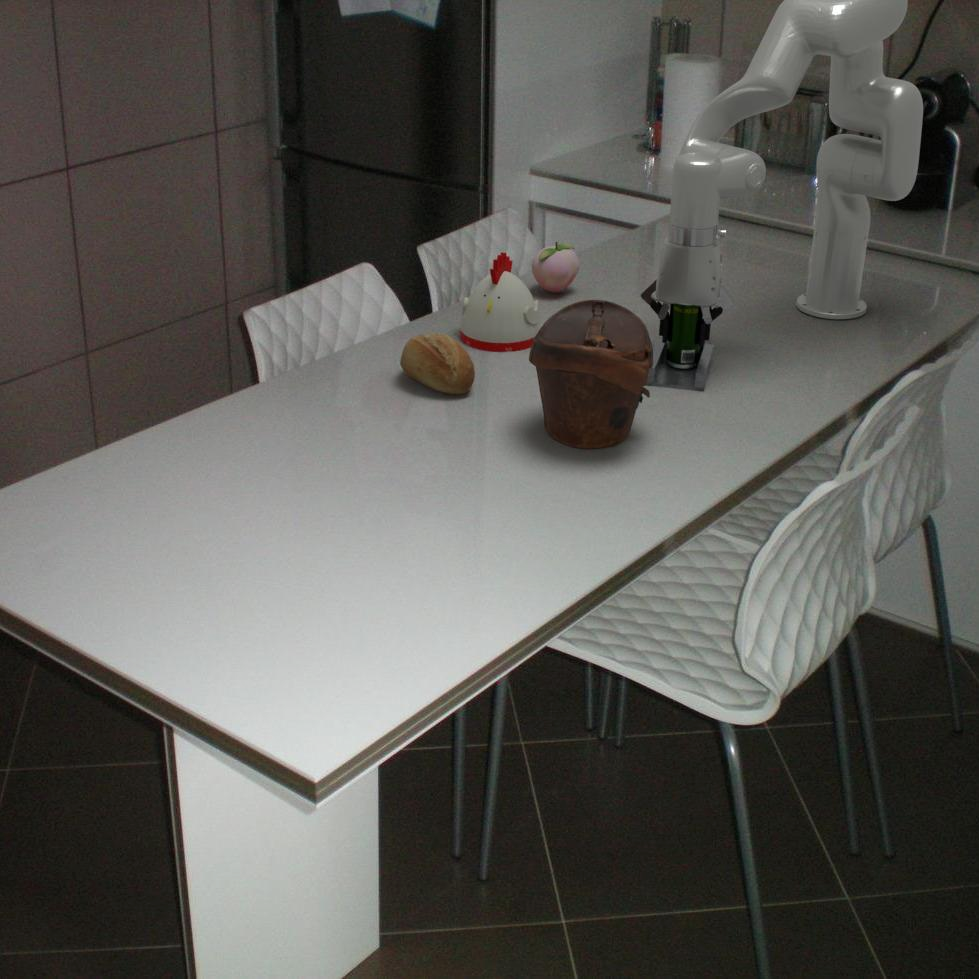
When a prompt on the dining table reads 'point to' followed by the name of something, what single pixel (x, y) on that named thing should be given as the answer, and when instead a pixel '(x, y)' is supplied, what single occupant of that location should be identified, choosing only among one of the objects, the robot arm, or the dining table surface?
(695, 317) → the beer can
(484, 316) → the kitchen timer
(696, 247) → the robot arm
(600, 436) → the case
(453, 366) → the bread roll
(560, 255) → the decorative fruit
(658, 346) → the grey tray
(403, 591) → the dining table surface
